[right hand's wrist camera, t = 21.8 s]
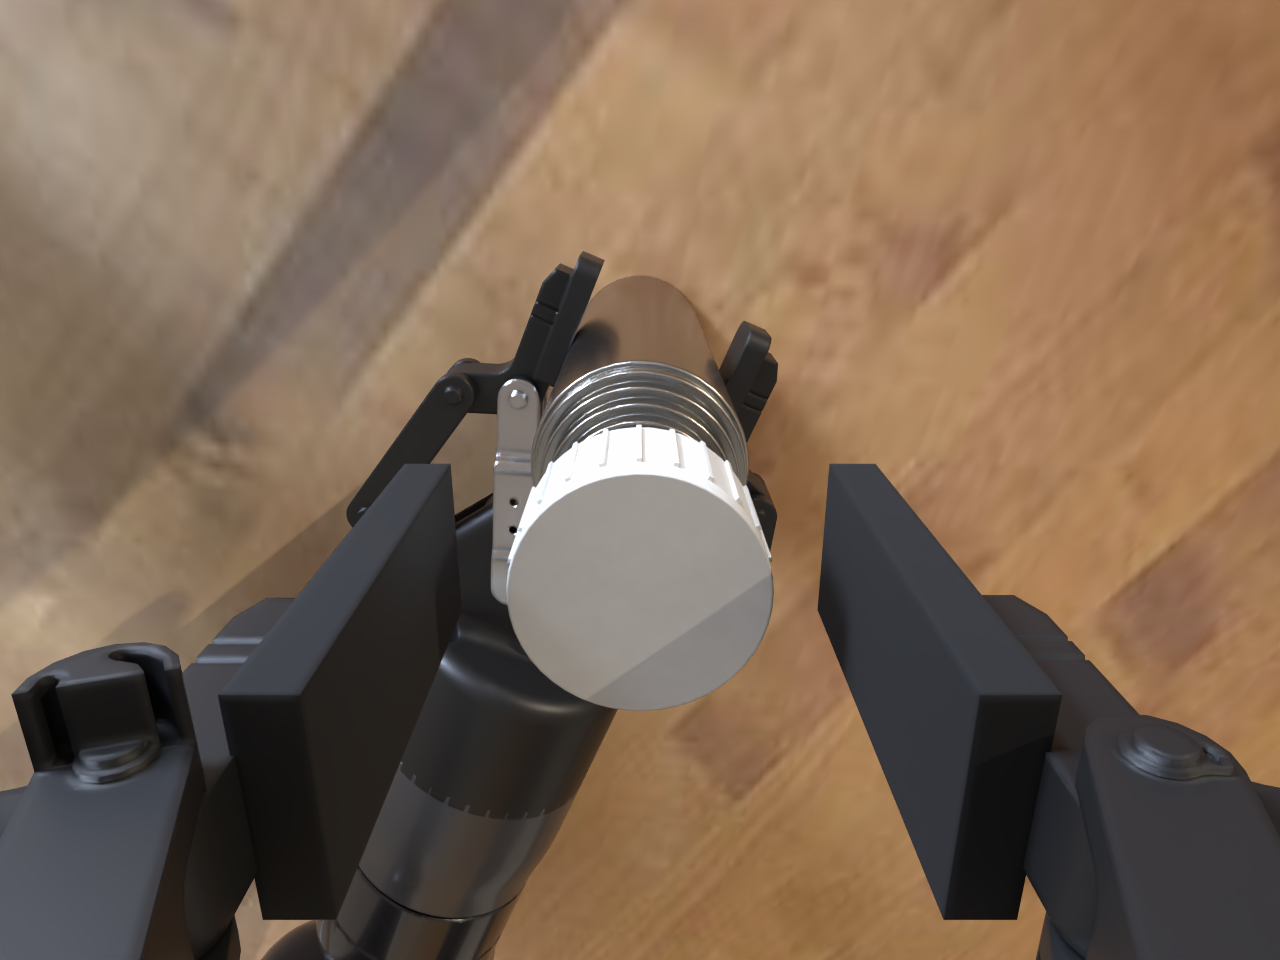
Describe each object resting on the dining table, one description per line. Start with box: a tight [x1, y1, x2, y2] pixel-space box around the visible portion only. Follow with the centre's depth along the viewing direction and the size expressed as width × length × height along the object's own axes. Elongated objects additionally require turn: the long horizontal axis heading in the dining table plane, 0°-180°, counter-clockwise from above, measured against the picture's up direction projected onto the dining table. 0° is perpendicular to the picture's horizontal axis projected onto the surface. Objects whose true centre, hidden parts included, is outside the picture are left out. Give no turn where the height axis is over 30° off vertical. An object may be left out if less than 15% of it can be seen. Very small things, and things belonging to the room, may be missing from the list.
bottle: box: [531, 276, 749, 488], centre depth 22 cm, size 5×5×20 cm
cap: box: [506, 425, 774, 711], centre depth 13 cm, size 4×4×2 cm
